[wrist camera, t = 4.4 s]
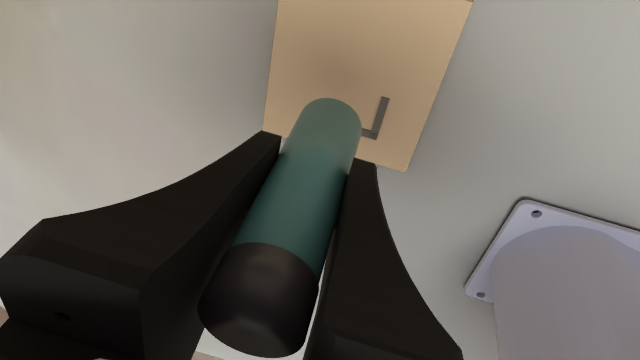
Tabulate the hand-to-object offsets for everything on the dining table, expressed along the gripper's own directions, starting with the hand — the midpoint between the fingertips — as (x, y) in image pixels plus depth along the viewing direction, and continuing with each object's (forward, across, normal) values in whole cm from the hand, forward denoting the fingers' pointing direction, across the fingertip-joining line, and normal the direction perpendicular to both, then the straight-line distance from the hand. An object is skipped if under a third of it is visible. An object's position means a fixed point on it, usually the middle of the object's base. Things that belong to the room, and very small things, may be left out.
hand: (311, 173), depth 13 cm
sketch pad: (+10, 0, +1) cm, 10 cm away
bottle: (+3, 0, 0) cm, 3 cm away
